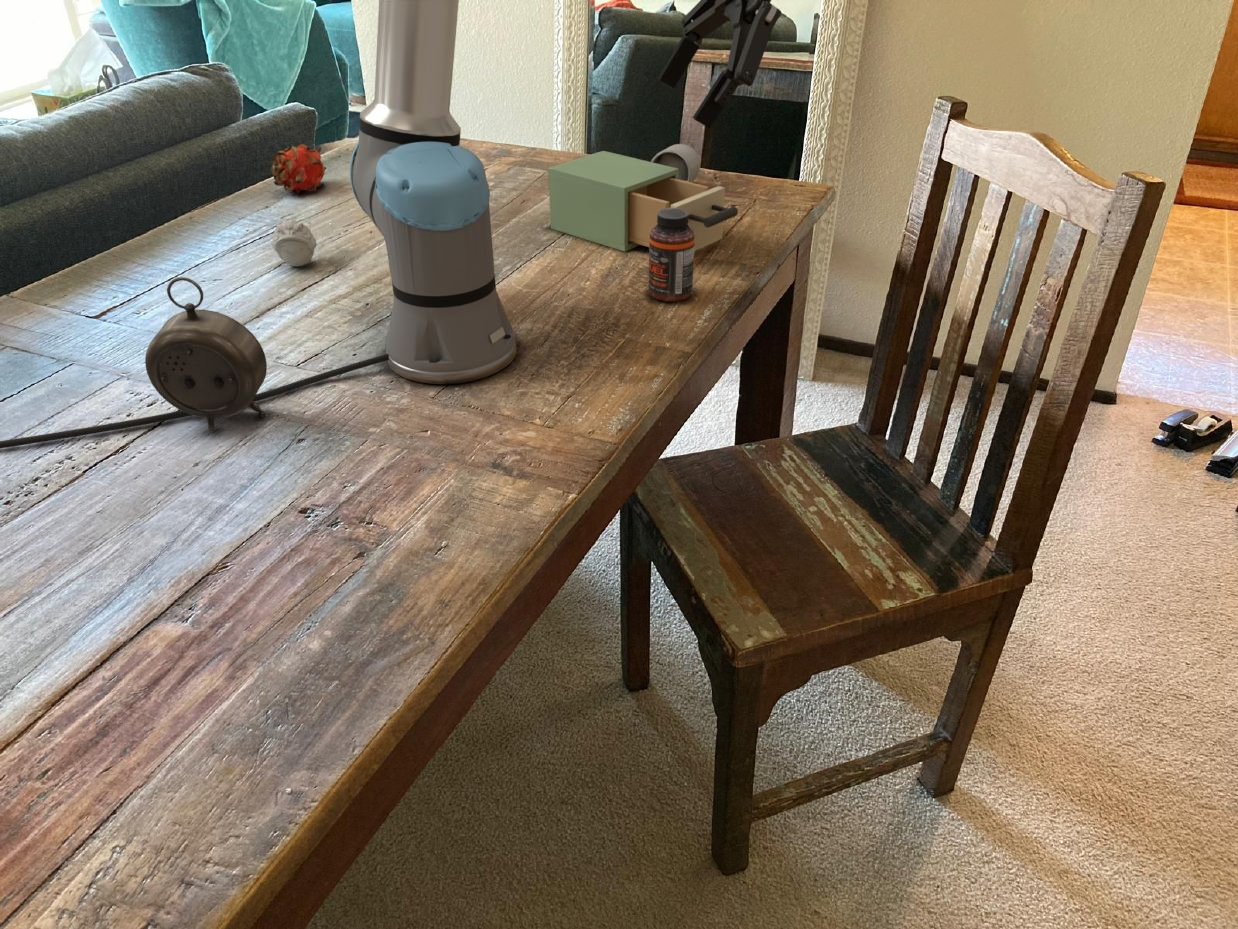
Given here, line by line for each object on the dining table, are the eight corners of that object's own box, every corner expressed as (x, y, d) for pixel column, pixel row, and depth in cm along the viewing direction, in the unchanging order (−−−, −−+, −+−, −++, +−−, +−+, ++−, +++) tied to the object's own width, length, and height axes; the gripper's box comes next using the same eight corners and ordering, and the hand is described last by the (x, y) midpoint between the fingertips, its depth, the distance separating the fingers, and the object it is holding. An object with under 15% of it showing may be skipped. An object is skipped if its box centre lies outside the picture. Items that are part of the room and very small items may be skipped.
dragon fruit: (278, 209, 160) (320, 199, 170) (309, 183, 156) (350, 174, 166) (249, 165, 159) (293, 157, 169) (279, 138, 155) (322, 131, 165)
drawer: (745, 245, 138) (748, 193, 134) (698, 267, 131) (701, 212, 127) (649, 217, 148) (649, 168, 144) (601, 236, 141) (600, 185, 137)
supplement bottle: (639, 294, 125) (639, 212, 119) (668, 282, 129) (670, 201, 123) (671, 307, 122) (674, 223, 116) (701, 294, 125) (705, 212, 119)
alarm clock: (280, 408, 100) (245, 266, 91) (264, 434, 96) (226, 288, 87) (179, 409, 100) (134, 267, 91) (158, 435, 96) (110, 289, 87)
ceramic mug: (701, 184, 166) (703, 140, 161) (689, 198, 159) (690, 152, 155) (645, 179, 169) (645, 136, 164) (631, 193, 162) (630, 148, 158)
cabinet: (677, 229, 146) (678, 168, 141) (624, 251, 139) (624, 187, 133) (604, 208, 155) (603, 150, 150) (550, 228, 147) (548, 167, 142)
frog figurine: (274, 276, 131) (263, 228, 127) (279, 258, 137) (269, 212, 133) (318, 273, 132) (309, 225, 128) (322, 255, 138) (313, 209, 134)
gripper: (841, 0, 112) (738, 152, 122) (756, -59, 129) (671, 79, 139) (799, -32, 108) (695, 128, 117) (717, -89, 125) (632, 56, 134)
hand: (682, 102), depth 128 cm, fingers open, 13 cm apart
